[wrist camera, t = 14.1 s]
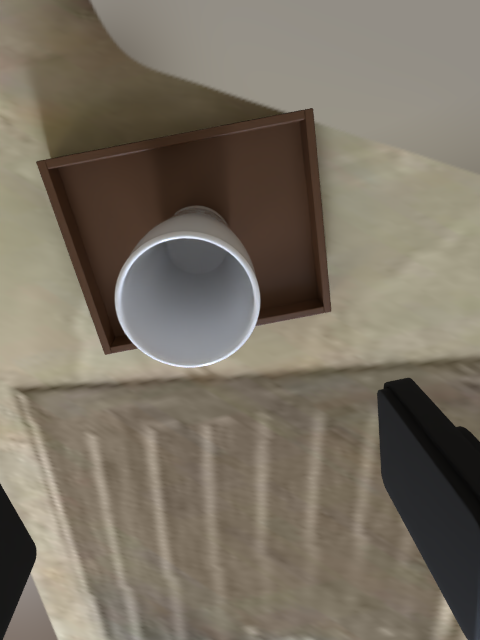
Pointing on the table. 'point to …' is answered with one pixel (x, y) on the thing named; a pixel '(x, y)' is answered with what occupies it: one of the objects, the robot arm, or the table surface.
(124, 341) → the tray
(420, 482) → the robot arm
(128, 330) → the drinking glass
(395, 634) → the table surface
